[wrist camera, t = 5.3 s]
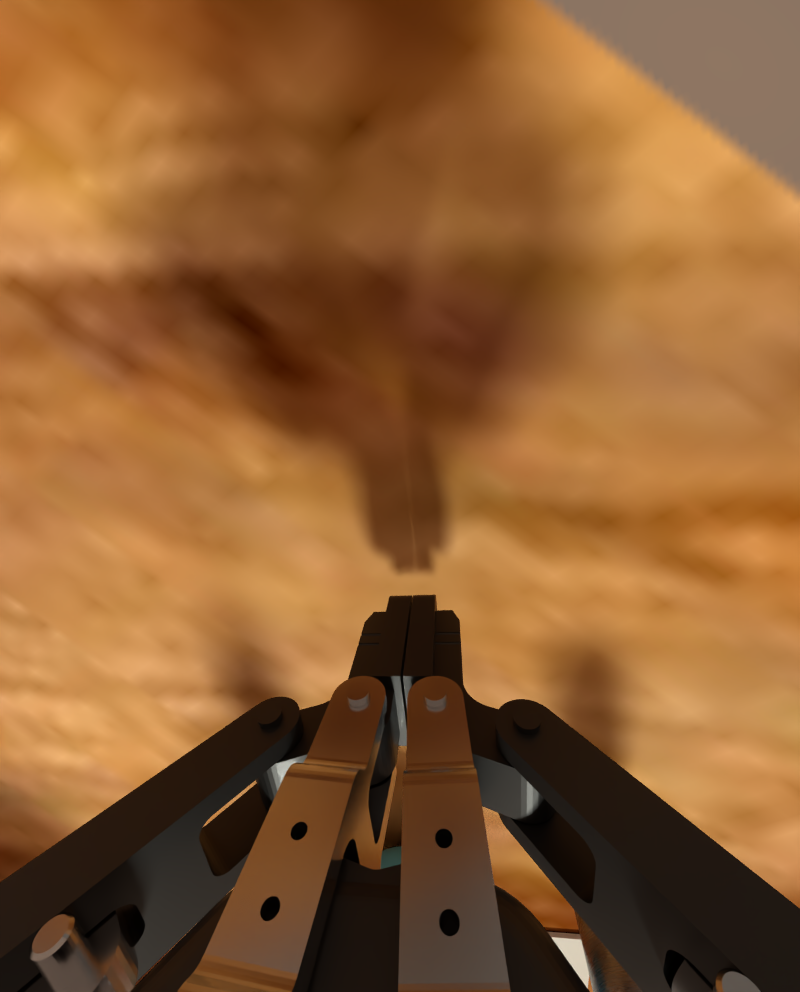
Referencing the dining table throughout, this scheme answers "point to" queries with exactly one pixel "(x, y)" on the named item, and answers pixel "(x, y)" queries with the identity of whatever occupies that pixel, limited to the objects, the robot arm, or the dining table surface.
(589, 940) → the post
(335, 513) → the dining table surface
